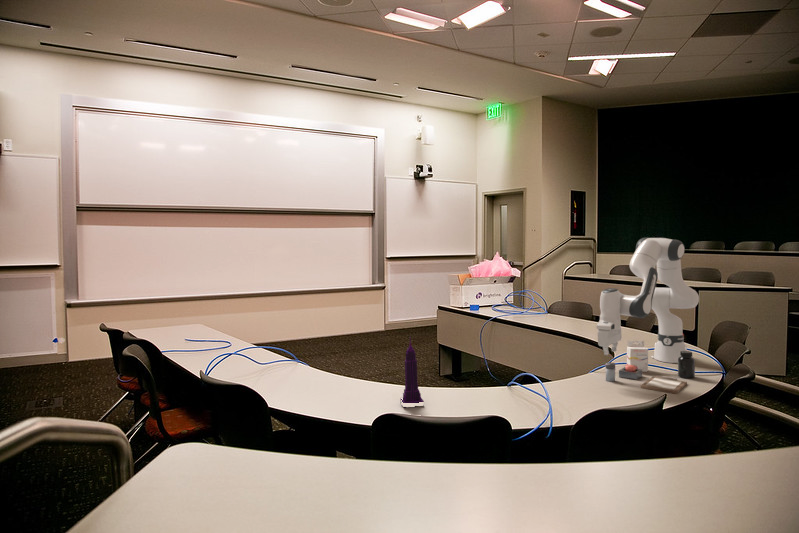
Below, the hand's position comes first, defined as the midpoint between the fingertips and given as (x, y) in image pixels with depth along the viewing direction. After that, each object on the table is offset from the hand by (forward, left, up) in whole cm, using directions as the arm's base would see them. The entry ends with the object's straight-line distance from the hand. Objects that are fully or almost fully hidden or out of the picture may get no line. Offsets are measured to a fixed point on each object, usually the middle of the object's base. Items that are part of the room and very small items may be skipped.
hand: (610, 353), depth 220 cm
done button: (-12, +5, -11) cm, 17 cm away
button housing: (-12, +5, -13) cm, 19 cm away
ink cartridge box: (-25, +4, -13) cm, 29 cm away
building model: (+83, -50, -13) cm, 98 cm away
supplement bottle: (-27, +25, -13) cm, 39 cm away
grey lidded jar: (0, 0, -13) cm, 13 cm away
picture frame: (-6, +21, -13) cm, 25 cm away
